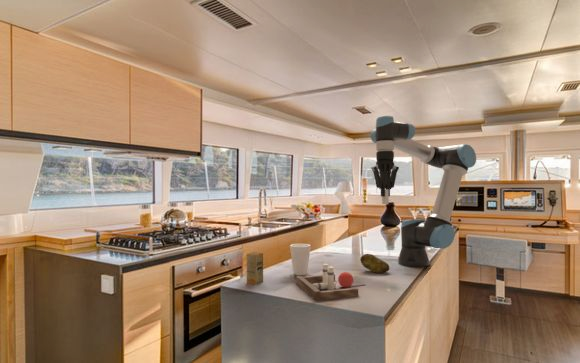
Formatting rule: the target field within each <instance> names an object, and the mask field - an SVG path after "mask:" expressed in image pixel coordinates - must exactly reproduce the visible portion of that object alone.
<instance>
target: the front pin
mask: <svg viewBox="0 0 580 363" xmlns="http://www.w3.org/2000/svg"><path fill="white" fill-rule="evenodd" d="M312 285H313V286H314V287H316V288H317V289H318V290H320V291H322V290H328V282H327V283H323V282H317V283H312ZM334 289H337V283H336V282H335V281H334Z"/></svg>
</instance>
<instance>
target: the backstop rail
mask: <svg viewBox="0 0 580 363" xmlns="http://www.w3.org/2000/svg"><path fill="white" fill-rule="evenodd" d="M295 280H296V281H295V283H296V285H297V286H298V287H300V288H301V289H302V290H303V291H304V292H305V291H306V294H308V295H309V296H310V297H311V298H312V297H313V298H314V299H313V298H312V299H313V300H315V301H321V300H323V301H324V300H331V299H332V300H333V299H339V298H340V299H341V298H348V297H357V296H359V288H358V287H347V288H340V289H339V288H338V289H334V290H328V289H327V290H318V289H317V288H316V287H314V286H313V284H315V283H323V274H320V275H318V274H317V275H308V276H303V275H296V276H295ZM335 281H336V274H334V282H335Z"/></svg>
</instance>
